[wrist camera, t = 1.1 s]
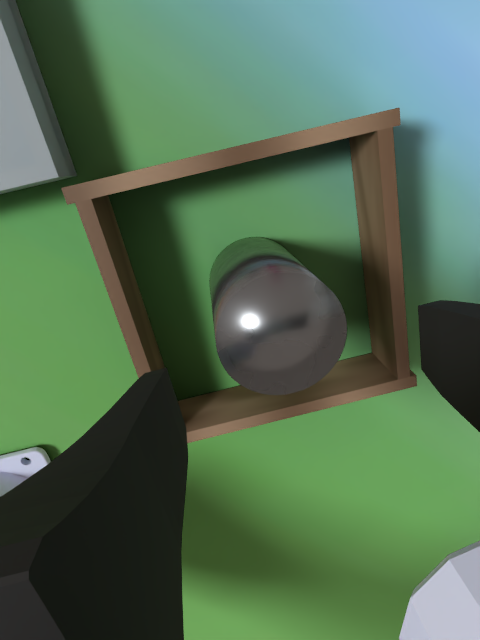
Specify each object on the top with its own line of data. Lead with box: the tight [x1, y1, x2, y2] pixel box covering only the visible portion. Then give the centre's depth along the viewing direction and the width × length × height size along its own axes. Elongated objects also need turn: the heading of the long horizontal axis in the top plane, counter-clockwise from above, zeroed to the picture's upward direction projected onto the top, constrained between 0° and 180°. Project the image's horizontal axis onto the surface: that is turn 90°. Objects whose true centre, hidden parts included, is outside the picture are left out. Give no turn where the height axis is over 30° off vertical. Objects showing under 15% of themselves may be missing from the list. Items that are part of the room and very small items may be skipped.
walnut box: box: [61, 108, 417, 443], centre depth 18 cm, size 13×12×3 cm
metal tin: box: [209, 237, 347, 395], centre depth 16 cm, size 4×4×7 cm
